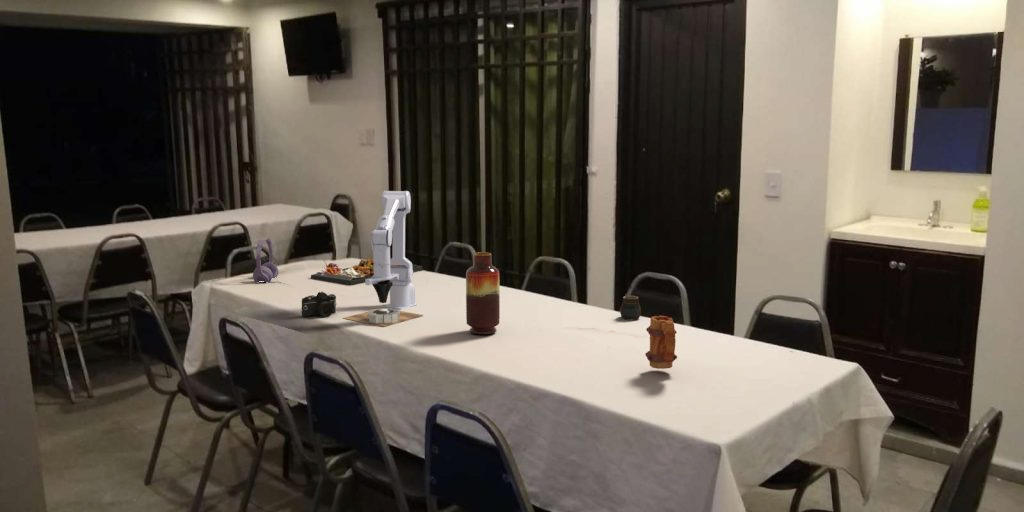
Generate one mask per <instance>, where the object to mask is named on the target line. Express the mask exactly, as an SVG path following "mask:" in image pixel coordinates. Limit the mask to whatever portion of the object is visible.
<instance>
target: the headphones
mask: <svg viewBox="0 0 1024 512" xmlns="http://www.w3.org/2000/svg"><path fill="white" fill-rule="evenodd" d="M265 242H266V245H267V247H268V251H269V254H268V256H269V259H268V260H269V261H268V262H264V263H263V264H262V262H261V253H262V249H263V246H264V244H265ZM273 250H274V249H273V242H272V239H271V238H270V237H260V238H258V240H257V243H256V252H255V253H256V254H255V255H256V260H255V262H256V267H255V268H254V269H253V273H252V278H253V281H254V283H255V282H259V281H264V282H268V283H270V282H271V281H272V280H273V279H272V278H275V277H276V278H277V277H278V276H279V268H278V267H277V265H276V264H275V263H274V251H273ZM276 278H275V279H276ZM271 279H272V280H271ZM269 281H270V282H269Z"/></svg>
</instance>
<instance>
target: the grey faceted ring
mask: <svg viewBox="0 0 1024 512" xmlns="http://www.w3.org/2000/svg"><path fill="white" fill-rule="evenodd" d="M377 309H378V308H373V309H370V310H367V311H366V312H367V321H368V322H369V323H374V324H388V323H394V322H398V321H399V320H400V311H401V310H400V309H395V308H389V307H385V308H384V307H381V308H379V309H390V313H389V314H376V310H377Z"/></svg>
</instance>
